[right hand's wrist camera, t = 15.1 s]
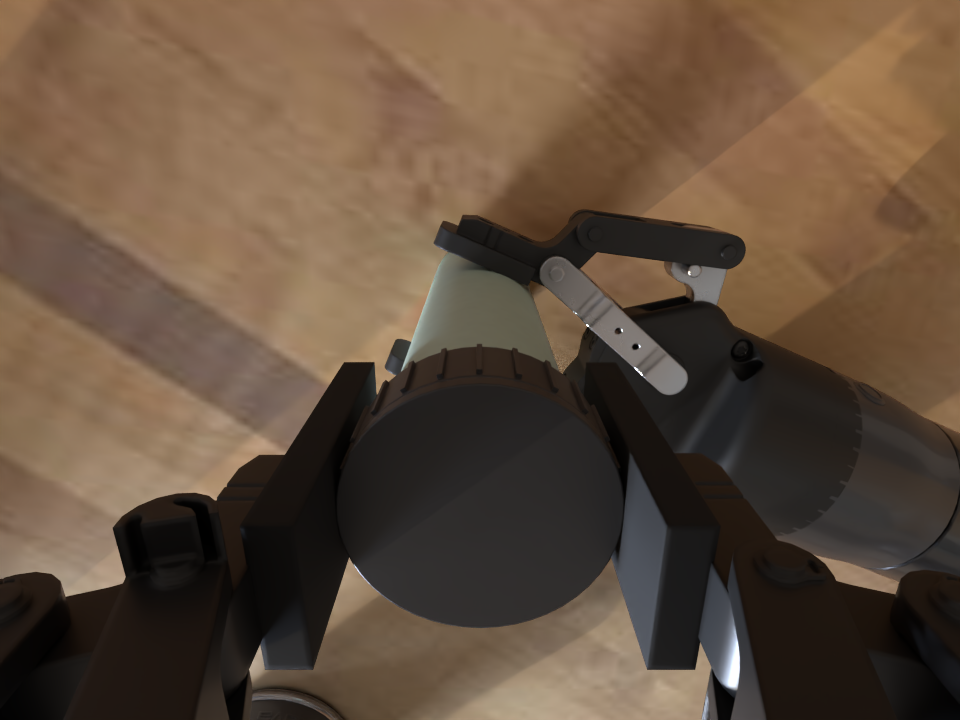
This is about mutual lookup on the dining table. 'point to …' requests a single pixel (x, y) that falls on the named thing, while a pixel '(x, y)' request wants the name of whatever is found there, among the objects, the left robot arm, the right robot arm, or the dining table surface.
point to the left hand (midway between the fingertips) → (415, 294)
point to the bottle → (478, 314)
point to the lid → (480, 489)
